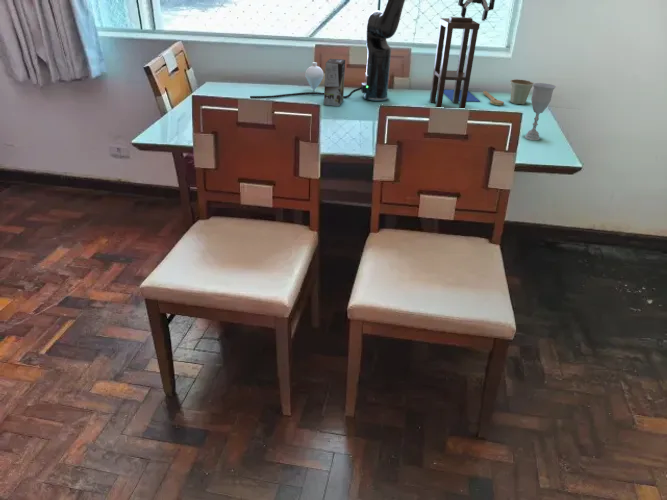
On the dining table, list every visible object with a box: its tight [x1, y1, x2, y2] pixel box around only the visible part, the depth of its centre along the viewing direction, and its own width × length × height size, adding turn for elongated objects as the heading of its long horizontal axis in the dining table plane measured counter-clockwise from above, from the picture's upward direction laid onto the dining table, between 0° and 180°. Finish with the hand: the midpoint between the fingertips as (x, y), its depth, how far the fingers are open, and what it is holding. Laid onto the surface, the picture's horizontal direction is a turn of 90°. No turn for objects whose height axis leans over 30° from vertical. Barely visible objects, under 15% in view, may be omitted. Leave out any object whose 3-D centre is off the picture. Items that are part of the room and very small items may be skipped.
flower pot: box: [509, 78, 535, 105], centre depth 232 cm, size 9×9×9 cm
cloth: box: [443, 89, 480, 103], centre depth 240 cm, size 12×18×1 cm, turn 5°
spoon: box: [482, 90, 505, 107], centre depth 236 cm, size 18×6×5 cm, turn 3°
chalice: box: [524, 82, 556, 141], centre depth 189 cm, size 7×7×18 cm
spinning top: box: [304, 61, 325, 92], centre depth 231 cm, size 8×8×12 cm
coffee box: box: [323, 58, 346, 107], centre depth 217 cm, size 9×6×16 cm
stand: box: [429, 16, 481, 109], centre depth 217 cm, size 12×12×33 cm
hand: (473, 19), depth 228 cm, fingers open, 8 cm apart
